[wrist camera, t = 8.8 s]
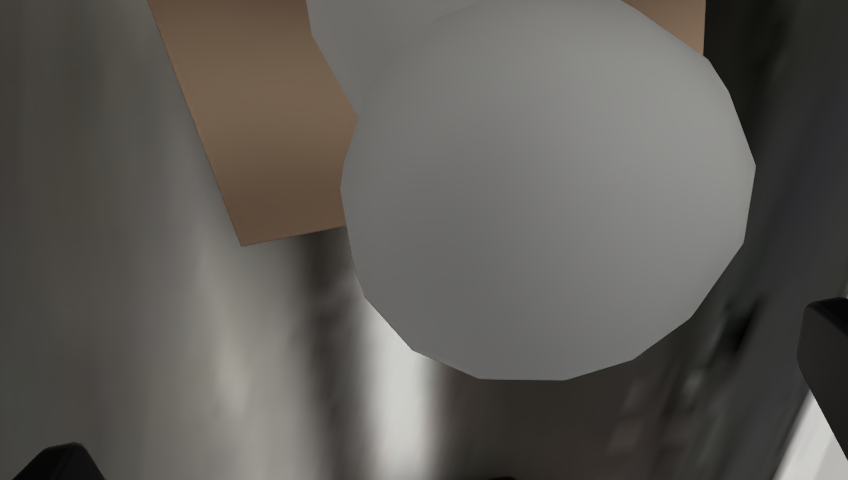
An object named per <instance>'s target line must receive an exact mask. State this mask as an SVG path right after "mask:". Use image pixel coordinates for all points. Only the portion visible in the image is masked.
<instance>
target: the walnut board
mask: <svg viewBox="0 0 848 480" xmlns="http://www.w3.org/2000/svg"><path fill="white" fill-rule="evenodd" d="M621 1H623V2H625V3H626V4H628V5H630V6H632V7H633V8H635V9H637V10H638V11H639V12H641V13H642V14H644V15H645V16H647V17H648V18H649V19H651V20H652V21H654V22H655V23H657V24H658V25H659V26H661V27H662V28H664V29H665V30H667V31H668V32H669V33H671V34H672V35H674V36H675V37H677V38H678V39H679V40H681V41H682V42H684V43H685V44H687V45H688V46H689V47H691V48H692V49H694V50H695V51H697V52H698V53H699V54H701V55H702V56H703V45H704V25H705V5H706V0H621ZM148 3H149V5H150V8H151V11H152V13H153V16H154V19H155V21H156V24H157V26H158V29H159V32H160V34H161V37H162V40H163V42H164V45H165V48H166V50H167V53H168V55H169V58H170V61H171V63H172V66H173V69H174V71H175V74H176V76H177V79H178V82H179V84H180V87H181V90H182V92H183V95H184V97H185V100H186V103H187V105H188V108H189V111H190V113H191V116H192V119H193V121H194V124H195V126H196V129H197V132H198V134H199V137H200V140H201V142H202V145H203V147H204V150H205V153H206V155H207V158H208V161H209V163H210V166H211V169H212V171H213V174H214V176H215V179H216V182H217V184H218V187H219V190H220V192H221V195H222V197H223V200H224V203H225V205H226V208H227V211H228V213H229V216H230V218H231V221H232V224H233V226H234V229H235V232H236V234H237V237H238V240H239V242H240V245H241V246H246V245H251V244H256V243H261V242H266V241H271V240H276V239H281V238H286V237H291V236H296V235H301V234H307V233H312V232H317V231H322V230H327V229H332V228H337V227H342V226H347V225H346V220H345V214H344V208H343V203H342V197H341V191H340V187H341V180H342V173H343V166H344V161H345V158H346V154H347V151H348V148H349V145H350V142H351V138H352V135H353V132H354V129H355V126H356V123H357V119H358V116H357V114H356V112H355V111H354V109H353V107H352V105H351V104H350V102H349V100H348V98H347V97H346V95H345V93H344V91H343V90H342V88H341V86H340V84H339V82H338V81H337V79H336V77H335V75H334V74H333V72H332V70H331V68H330V67H329V65H328V63H327V61H326V59H325V58H324V56H323V54H322V52H321V51H320V49H319V47H318V45H317V44H316V42H315V40H314V38H313V37H312V33H311V27H310V21H309V15H308V9H307V3H306V0H148Z"/></svg>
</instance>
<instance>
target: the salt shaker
mask: <svg viewBox="0 0 848 480" xmlns="http://www.w3.org/2000/svg"><path fill="white" fill-rule="evenodd" d="M306 3H307V9H308V15H309V21H310V27H311V33H312V37H313V38H314V40H315V42H316V44H317V45H318V47H319V49H320V51H321V52H322V54H323V56H324V58H325V59H326V61H327V63H328V65H329V67H330V68H331V70H332V72H333V74H334V75H335V77H336V79H337V81H338V82H339V84H340V86H341V88H342V90H343V91H344V93H345V95H346V97H347V98H348V100H349V102H350V104H351V105H352V107H353V109H354V111H355V112H356V114H357V116H358V119H357V123H356V126H355V129H354V132H353V135H352V138H351V142H350V145H349V148H348V151H347V154H346V158H345V161H344V166H343V173H342V180H341V187H340V191H341V197H342V203H343V208H344V214H345V220H346V225H347V231H348V236H349V242H350V248H351V253H352V259H353V264H354V267H355V270H356V273H357V276H358V279H359V282H360V285H361V288H362V291H363V293H364V296H365V298H366V299H367V300H368V301H369V302H370V303H371V305H372V306H373V307H374V308H375V309H376V310H377V311H378V312H379V314H380V315H381V316H382V317H383V318H384V319H385V320H386V321H387V322H388V324H389V325H390V326H391V327H392V328H393V329H394V330H395V331H396V332H397V334H398V335H399V336H400V337H401V338H402V339H403V340H404V341H405V343H406V344H407V345H408V346H409V347H410V348H411V349H412V350H413V351H415V352H418V353H420V354H422V355H425V356H427V357H429V358H432V359H434V360H436V361H439V362H441V363H443V364H446V365H448V366H450V367H453V368H455V369H457V370H460V371H462V372H464V373H467V374H469V375H471V376H474V377H476V378H478V379H497V380H567V379H571V378H574V377H577V376H581V375H584V374H587V373H590V372H594V371H597V370H600V369H603V368H607V367H610V366H613V365H617V364H620V363H623V362H626V361H630V360H633V359H634V358H636V357H637V356H638V355H640V354H641V353H642V352H644V351H645V350H647V349H648V348H649V347H651V346H652V345H653V344H655V343H656V342H658V341H659V340H660V339H662V338H663V337H665V336H666V335H667V334H669V333H670V332H671V331H673V330H674V329H676V328H677V327H678V326H680V325H681V324H683V323H684V322H685V321H687V320H688V319H689V318H691V316H692V315H693V314H694V312H695V311H696V310H697V308H698V307H699V305H700V304H701V302H702V301H703V300H704V298H705V297H706V295H707V294H708V293H709V291H710V290H711V288H712V287H713V285H714V284H715V283H716V281H717V280H718V278H719V277H720V275H721V274H722V273H723V271H724V270H725V268H726V267H727V266H728V264H729V263H730V261H731V260H732V258H733V257H734V256H735V254H736V253H737V251H738V250H739V248H740V247H741V246H742V244H743V242H744V236H745V230H746V224H747V218H748V212H749V205H750V199H751V193H752V187H753V181H754V175H755V168H756V165H755V162H754V160H753V157H752V154H751V151H750V149H749V146H748V143H747V141H746V138H745V135H744V132H743V130H742V127H741V124H740V121H739V119H738V116H737V113H736V111H735V108H734V105H733V102H732V100H731V97H730V94H729V92H728V90H727V88H726V87H725V85H724V84H723V82H722V81H721V79H720V77H719V76H718V74H717V73H716V71H715V70H714V68H713V66H712V65H711V63H710V62H709V60H708V59H707V58H705V57H704V56H702V55H701V54H699V53H698V52H697V51H695V50H694V49H692V48H691V47H689V46H688V45H687V44H685V43H684V42H682V41H681V40H679V39H678V38H677V37H675V36H674V35H672V34H671V33H669V32H668V31H667V30H665V29H664V28H662V27H661V26H659V25H658V24H657V23H655V22H654V21H652V20H651V19H649V18H648V17H647V16H645V15H644V14H642V13H641V12H639V11H638V10H637V9H635V8H633V7H632V6H630V5H628V4H626V3H625V2H623V1H621V0H306Z"/></svg>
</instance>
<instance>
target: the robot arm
mask: <svg viewBox="0 0 848 480" xmlns="http://www.w3.org/2000/svg"><path fill="white" fill-rule="evenodd" d="M797 358H798V364H799V367H800V370H801V372H802V374H803V376H804V378H805V380H806V382H807V384H808V386H809V387H810V389H811V391H812V393H813V395H814V397H815V399H816V401H817V403H818V405H819V407H820V408H821V410H822V412H823V414H824V416H825V418H826V420H827V422H828V424H829V426H830V428H831V429H832V431H833V433H834V435H835V437H836V439H837V441H838V443H839V445H840V446H841V448H842V450H843V452H844V454H845V456H846V458H847V460H848V299H847V298H842V297H837V298H831V299H826V300H821V301H815V302H812V303H810V304H808V305H807V307H806V308H805V310H804V314H803V320H802V326H801V332H800V338H799V344H798V350H797ZM12 480H106V478H105V477H104V475H103V473H102V472H101V470H100V468H99V467H98V465H97V464H96V462H95V460H94V459H93V457H92V456H91V454H90V452H89V451H88V449H87V448H86V447H85V446H84V445H83V444H81V443H79V442H72V443H67V444H62V445H56V446H51V447H48V448H46V449H44V450H43V451H41V452H40V453H39V454H38V455H37V456H36V457H35V458H34V459H33V460H32V461H31V462H30V463H29V464H28V465H27V466H26V467H25V468H24V469H23V470H22V471H21V472H20V473H19V474H18V475H17V476H15V477H14V478H13V479H12Z"/></svg>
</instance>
